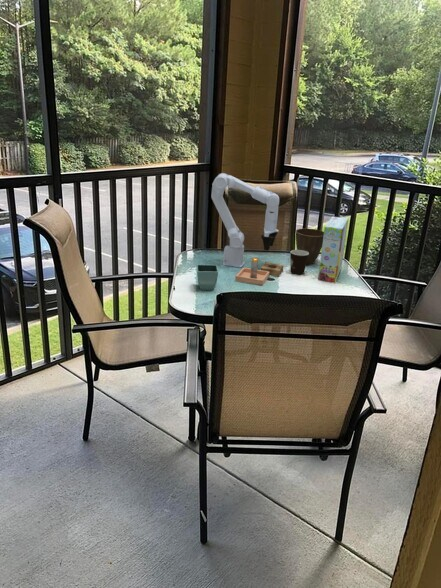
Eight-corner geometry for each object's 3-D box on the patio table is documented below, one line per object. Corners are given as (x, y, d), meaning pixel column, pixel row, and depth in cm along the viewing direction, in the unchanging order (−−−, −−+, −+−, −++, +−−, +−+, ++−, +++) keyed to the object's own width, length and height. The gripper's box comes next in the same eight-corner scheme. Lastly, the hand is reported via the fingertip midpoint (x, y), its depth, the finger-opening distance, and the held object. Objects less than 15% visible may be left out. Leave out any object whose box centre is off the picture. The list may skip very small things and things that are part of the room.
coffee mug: (305, 276, 215) (308, 256, 211) (287, 274, 216) (289, 254, 212) (306, 268, 225) (309, 249, 221) (289, 266, 227) (291, 247, 223)
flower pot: (195, 283, 199) (196, 264, 196) (215, 284, 200) (217, 264, 197) (196, 291, 191) (197, 271, 188) (217, 291, 192) (218, 271, 189)
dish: (235, 280, 205) (235, 275, 204) (243, 272, 216) (243, 267, 215) (262, 285, 201) (262, 280, 200) (269, 276, 212) (269, 271, 211)
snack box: (324, 266, 230) (331, 215, 220) (341, 269, 227) (350, 218, 217) (316, 280, 211) (324, 225, 201) (335, 283, 209) (344, 228, 199)
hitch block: (260, 273, 215) (260, 267, 214) (264, 268, 223) (265, 262, 222) (278, 276, 213) (279, 270, 211) (282, 270, 220) (283, 265, 219)
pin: (249, 278, 207) (251, 259, 203) (250, 276, 210) (252, 257, 206) (256, 279, 207) (258, 260, 203) (257, 276, 209) (258, 258, 206)
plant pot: (295, 256, 243) (299, 226, 237) (323, 260, 238) (328, 230, 232) (289, 264, 230) (292, 233, 224) (318, 269, 225) (323, 237, 219)
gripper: (276, 224, 208) (273, 253, 213) (282, 217, 220) (279, 245, 226) (260, 222, 210) (258, 250, 215) (268, 216, 222) (265, 243, 228)
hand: (268, 247), depth 220 cm, fingers open, 7 cm apart
